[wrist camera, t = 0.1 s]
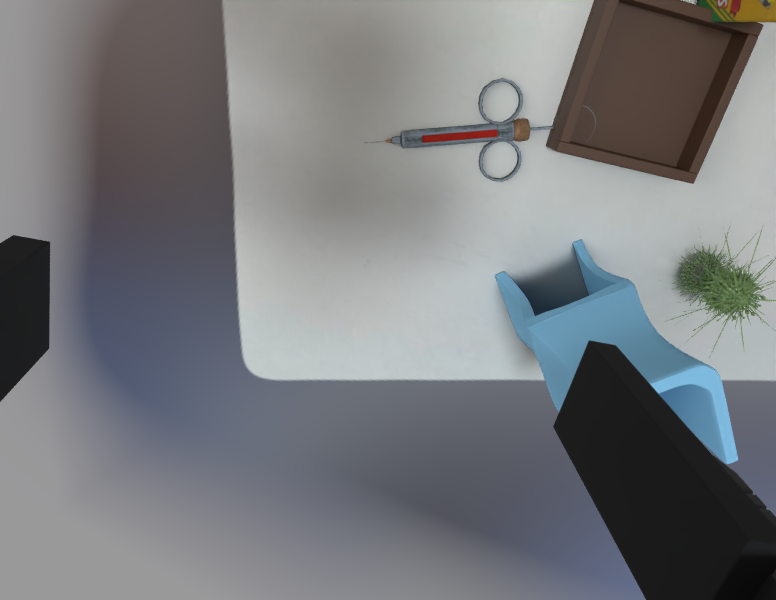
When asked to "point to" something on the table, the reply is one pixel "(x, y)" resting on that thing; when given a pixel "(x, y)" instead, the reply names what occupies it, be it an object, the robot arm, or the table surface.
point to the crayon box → (741, 10)
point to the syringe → (475, 133)
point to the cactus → (723, 286)
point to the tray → (651, 85)
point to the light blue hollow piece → (635, 340)
